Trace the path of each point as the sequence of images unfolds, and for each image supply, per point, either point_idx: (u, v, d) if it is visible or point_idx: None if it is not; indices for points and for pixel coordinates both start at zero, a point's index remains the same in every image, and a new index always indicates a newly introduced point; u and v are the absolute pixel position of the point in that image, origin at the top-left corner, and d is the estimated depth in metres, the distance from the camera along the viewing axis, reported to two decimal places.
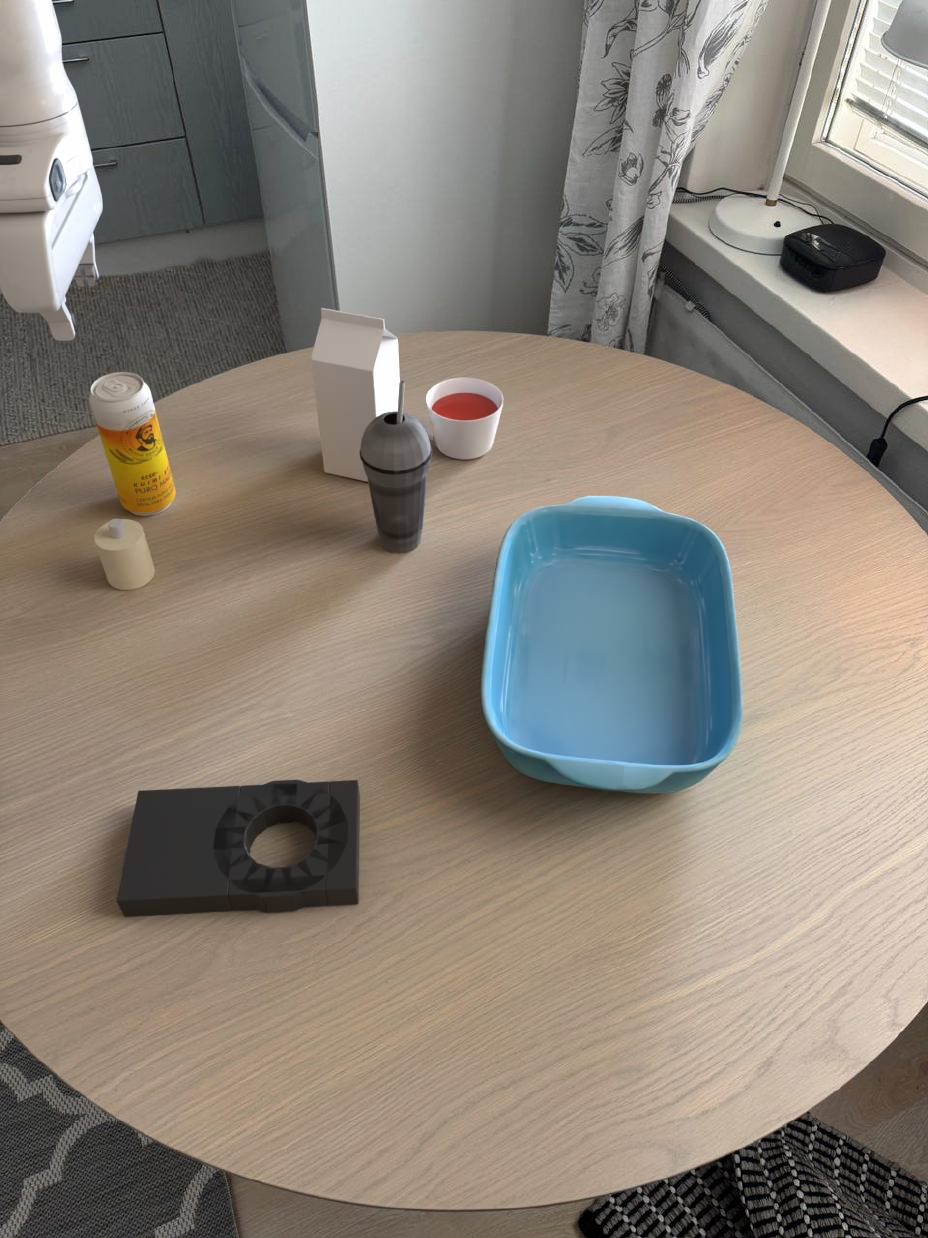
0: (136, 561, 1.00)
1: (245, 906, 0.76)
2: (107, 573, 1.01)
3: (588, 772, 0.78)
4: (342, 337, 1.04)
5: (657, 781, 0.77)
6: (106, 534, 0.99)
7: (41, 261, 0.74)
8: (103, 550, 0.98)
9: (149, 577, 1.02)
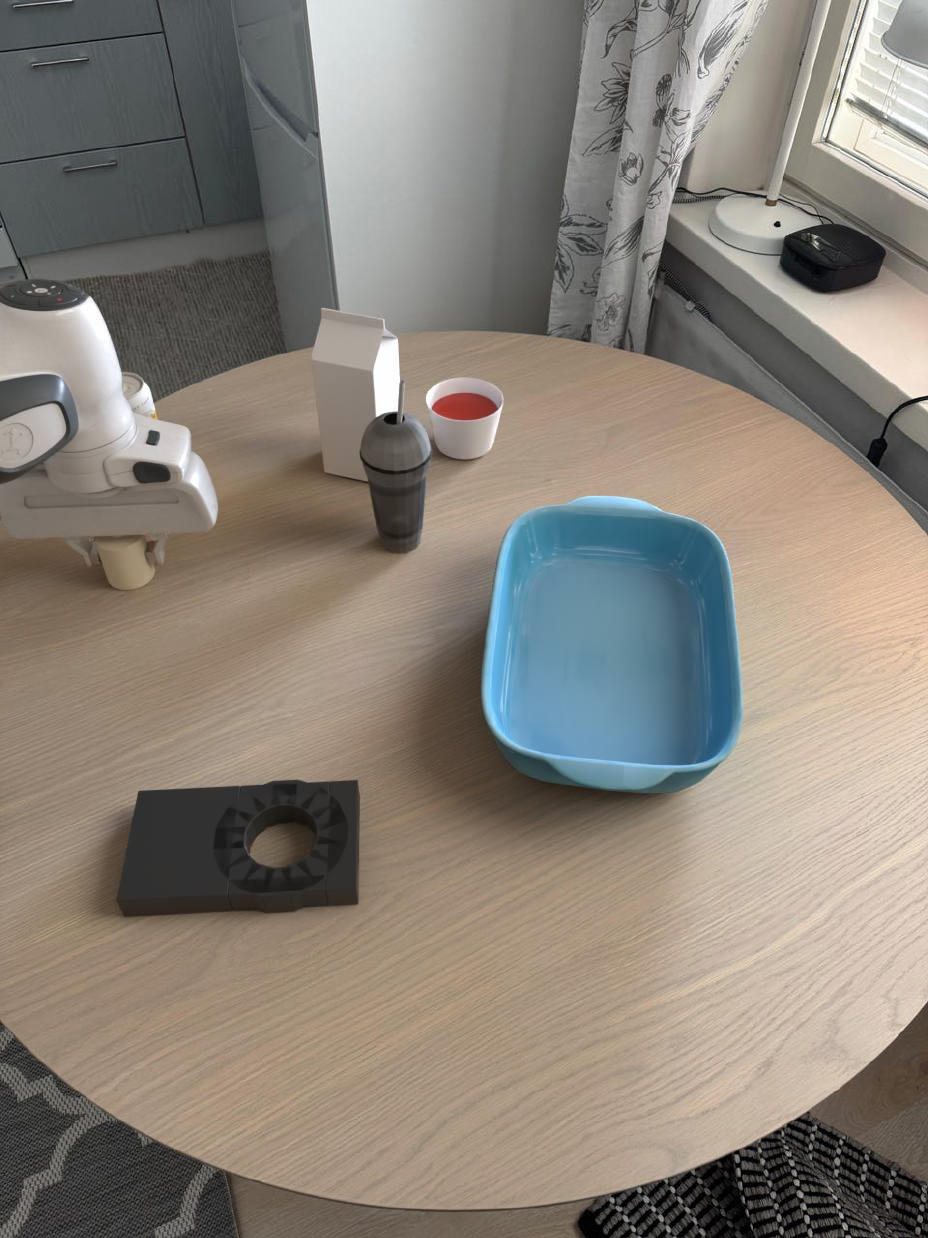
0: (136, 561, 1.00)
1: (245, 906, 0.76)
2: (107, 573, 1.01)
3: (588, 772, 0.78)
4: (342, 337, 1.04)
5: (657, 781, 0.77)
6: None
7: (209, 476, 0.97)
8: (103, 550, 0.98)
9: (149, 577, 1.02)
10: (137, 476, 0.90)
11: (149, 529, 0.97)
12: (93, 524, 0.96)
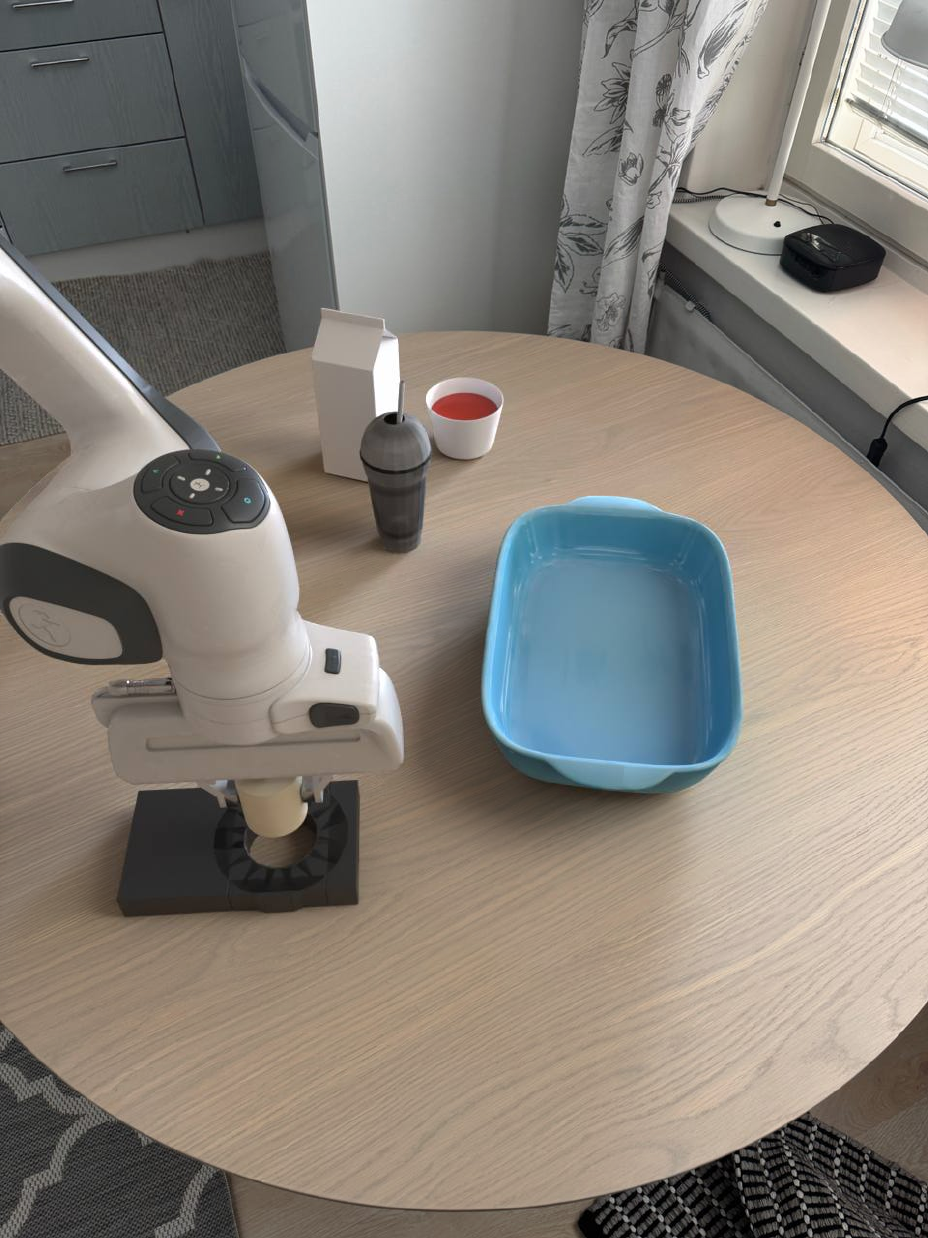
0: (290, 804, 0.73)
1: (245, 906, 0.76)
2: (248, 817, 0.74)
3: (588, 772, 0.78)
4: (342, 337, 1.04)
5: (657, 781, 0.77)
6: None
7: (396, 696, 0.70)
8: (247, 795, 0.71)
9: (302, 818, 0.75)
10: (314, 720, 0.63)
11: (314, 771, 0.70)
12: (238, 767, 0.69)
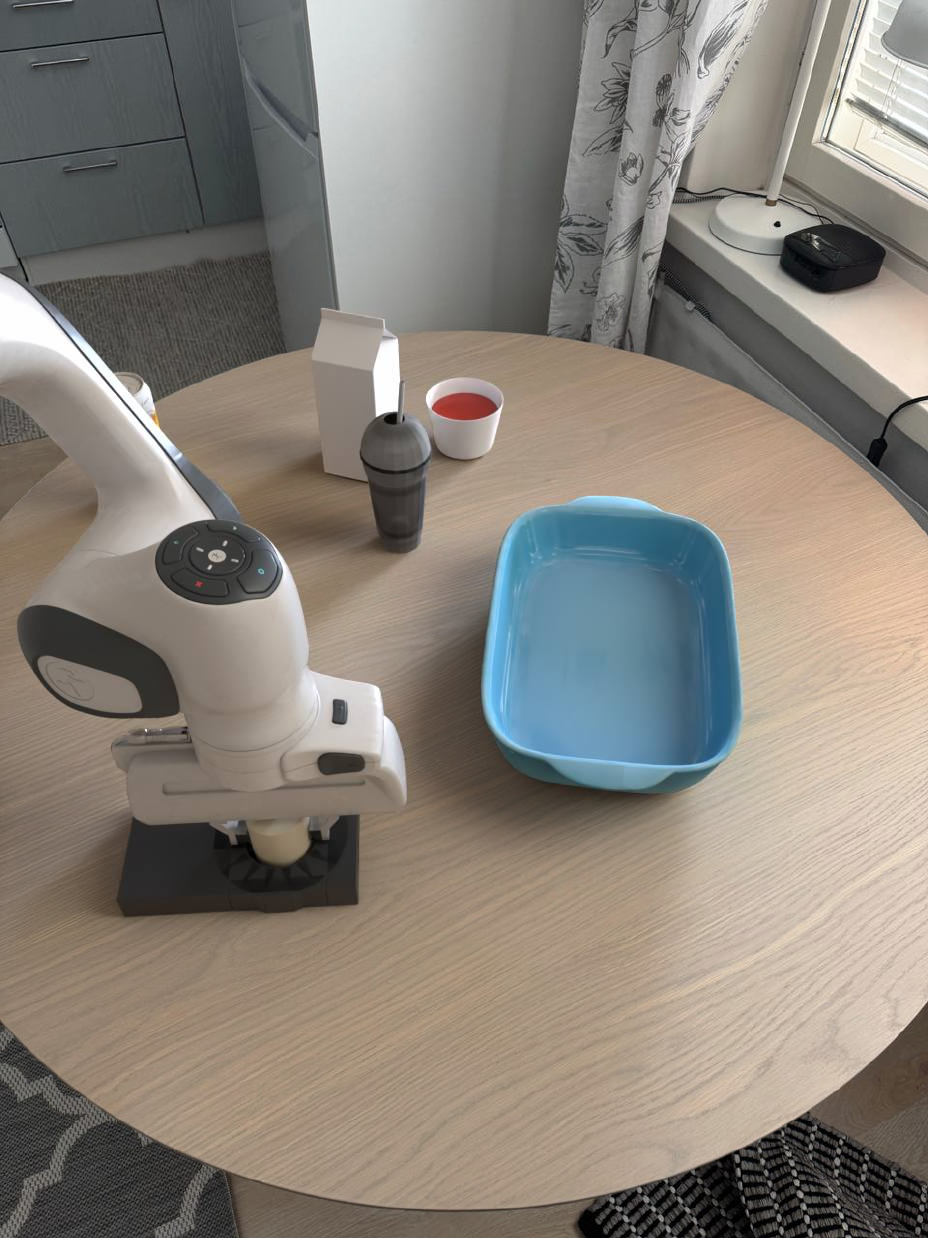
0: (298, 843, 0.77)
1: (245, 906, 0.76)
2: (258, 854, 0.78)
3: (588, 772, 0.78)
4: (342, 337, 1.04)
5: (657, 781, 0.77)
6: None
7: (399, 741, 0.74)
8: (257, 834, 0.75)
9: None
10: (322, 768, 0.67)
11: (321, 812, 0.74)
12: (249, 809, 0.73)
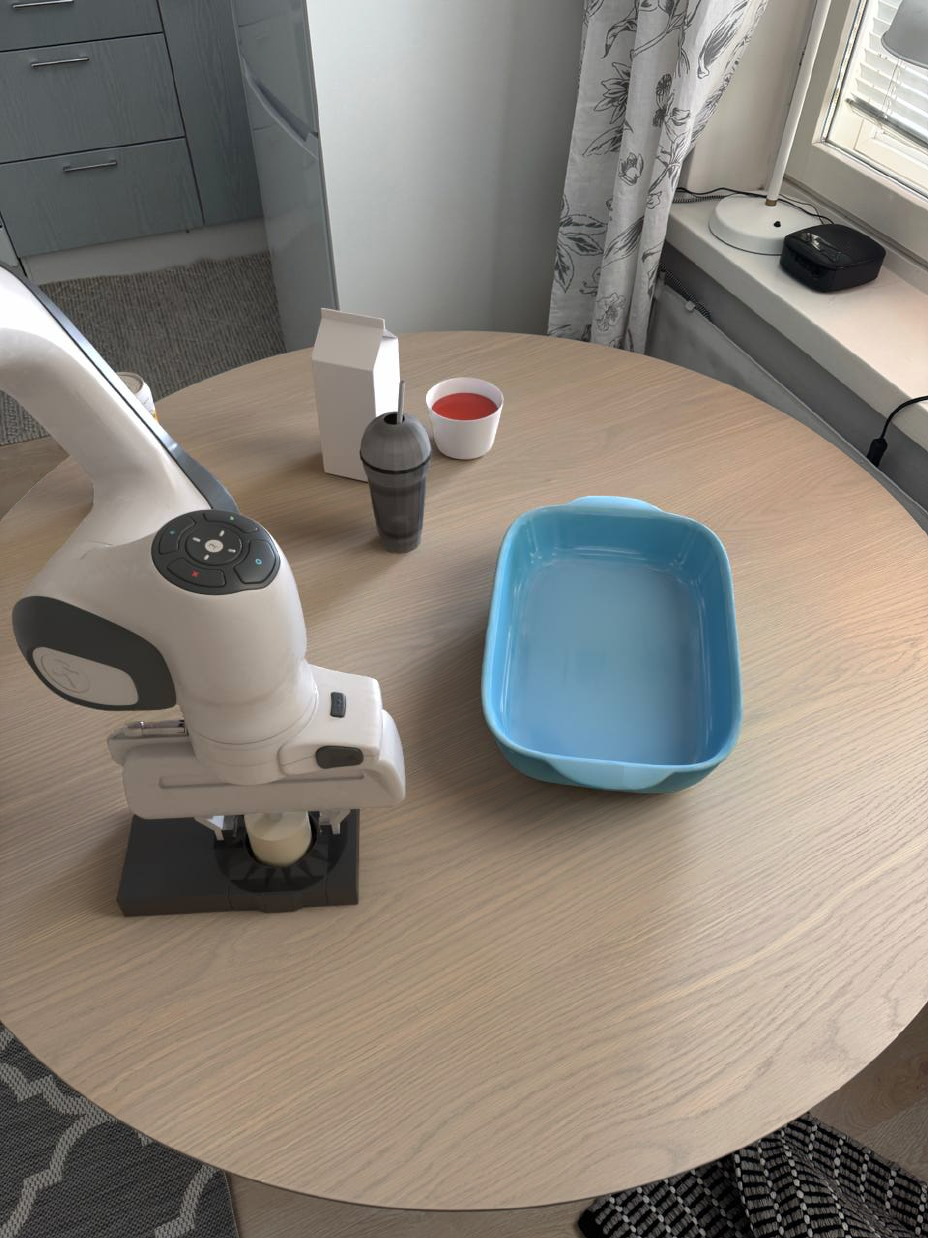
0: (298, 847, 0.77)
1: (245, 906, 0.76)
2: (258, 859, 0.78)
3: (588, 772, 0.78)
4: (342, 337, 1.04)
5: (657, 781, 0.77)
6: (259, 814, 0.77)
7: (398, 735, 0.73)
8: (258, 839, 0.75)
9: None
10: (320, 762, 0.66)
11: (319, 806, 0.73)
12: (246, 803, 0.72)
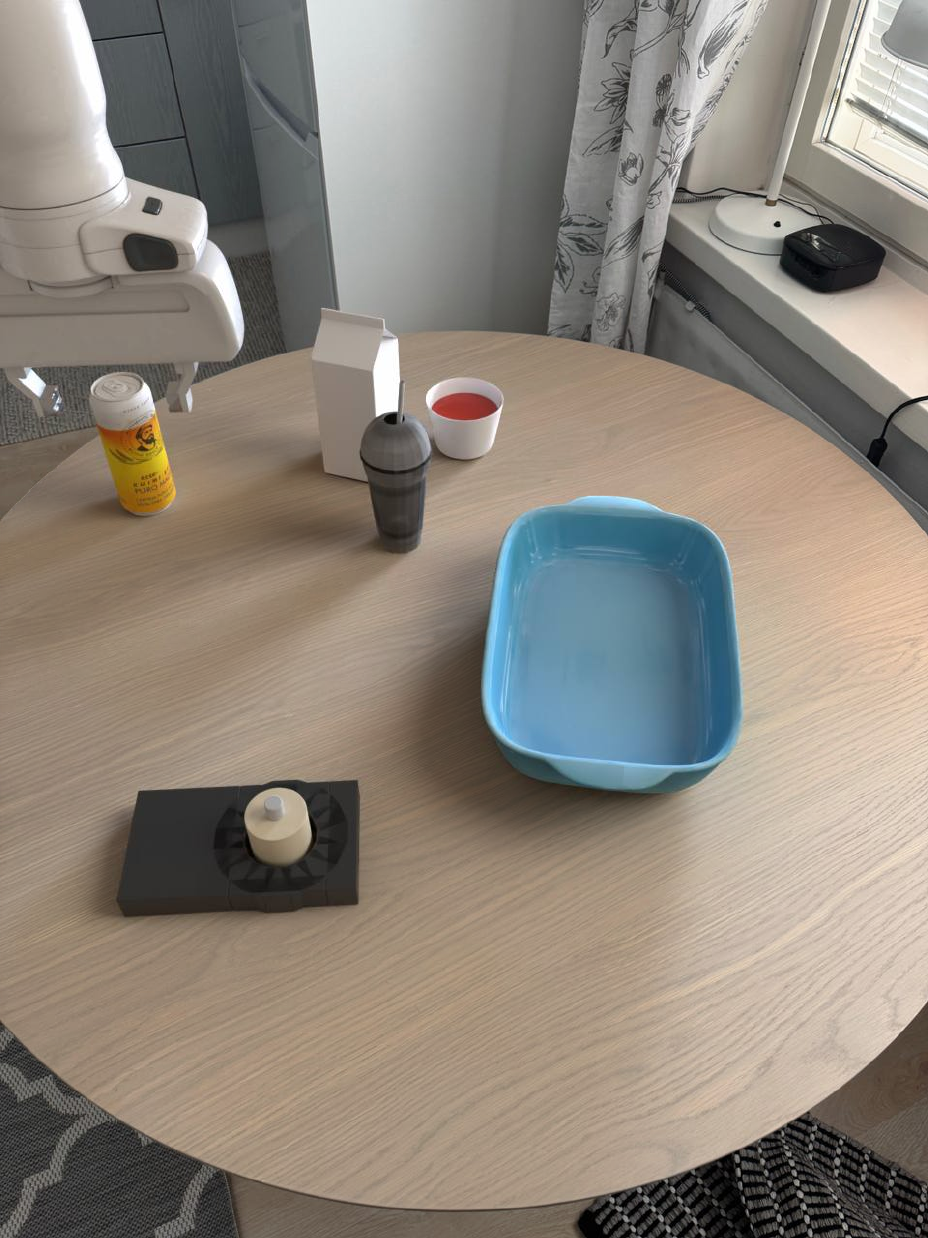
0: (298, 847, 0.77)
1: (245, 906, 0.76)
2: (258, 859, 0.78)
3: (588, 772, 0.78)
4: (342, 337, 1.04)
5: (657, 781, 0.77)
6: (259, 814, 0.77)
7: (232, 280, 0.68)
8: (258, 839, 0.75)
9: None
10: (129, 258, 0.62)
11: (147, 354, 0.68)
12: (67, 344, 0.67)
